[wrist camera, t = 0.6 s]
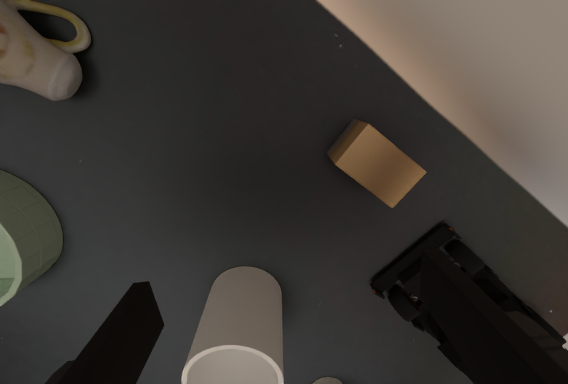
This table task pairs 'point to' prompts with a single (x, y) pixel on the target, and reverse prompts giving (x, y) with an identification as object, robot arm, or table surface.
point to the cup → (239, 332)
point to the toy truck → (474, 269)
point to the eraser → (375, 162)
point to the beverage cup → (327, 381)
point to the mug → (39, 52)
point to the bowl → (25, 235)
